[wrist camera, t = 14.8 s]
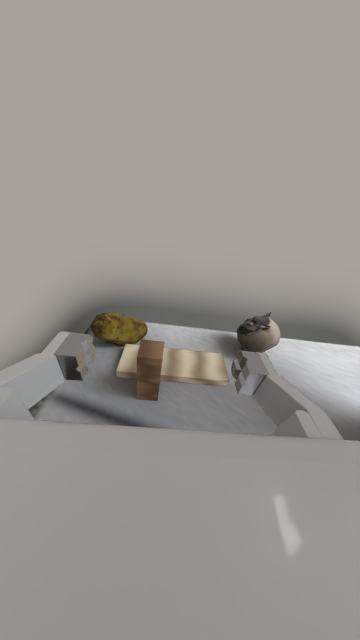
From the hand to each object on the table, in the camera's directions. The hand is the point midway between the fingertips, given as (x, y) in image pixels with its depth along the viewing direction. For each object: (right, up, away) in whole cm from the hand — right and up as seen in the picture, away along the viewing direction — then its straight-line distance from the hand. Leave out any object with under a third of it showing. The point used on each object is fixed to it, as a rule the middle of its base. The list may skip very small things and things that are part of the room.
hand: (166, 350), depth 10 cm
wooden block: (-6, -11, +29) cm, 31 cm away
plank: (-1, -9, +32) cm, 33 cm away
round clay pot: (+20, -7, +40) cm, 45 cm away
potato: (-14, -4, +36) cm, 39 cm away
